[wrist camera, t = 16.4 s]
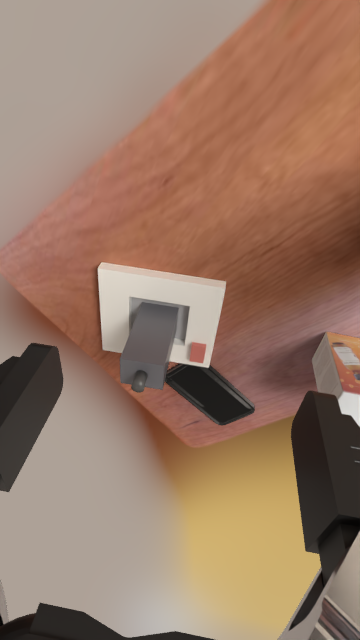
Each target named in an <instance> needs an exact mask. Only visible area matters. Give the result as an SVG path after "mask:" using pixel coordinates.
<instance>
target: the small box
mask: <svg viewBox="0 0 360 640" xmlns="http://www.w3.org/2000/svg"><path fill="white" fill-rule="evenodd" d="M312 365H313V370H314V374H315V379H316V384H317V389H318V392H321V393H327V394H333V395H335V396H336V397H337V399H338V402H339V406H340V410H341V413H342V414H346V415H351V416H352V417H353V419H354V420H355V421H356V423H357V424H358V426H359V427H360V338H356V337H351V336H346V335H341V334H336V333H332V332H326V333H325V335H324V337H323V339H322V341H321V343H320V344H319V346H318V348H317V350H316V352H315V354H314V356H313V358H312Z"/></svg>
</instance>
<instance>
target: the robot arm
mask: <svg viewBox="0 0 360 640" xmlns="http://www.w3.org/2000/svg"><path fill="white" fill-rule="evenodd" d="M62 387H63V374H62V368H61V362H60V357H59V351H58V348H57V347H55V346H50V345H44V344H37V343H31V344H30V345H29V346H28V347H27V349H26V350H25V351H24V353H23V354H22V355H21V357H15V356H12V357H11V358H9V359H8V360H6V361H5V362H3V363H2V364H0V490H1V491H6V492H9V491H10V489H11V487H12V485H13V483H14V481H15V479H16V478H17V476H18V474H19V472H20V470H21V468H22V466H23V464H24V462H25V460H26V459H27V457H28V455H29V453H30V451H31V449H32V447H33V445H34V444H35V442H36V440H37V438H38V436H39V434H40V432H41V430H42V428H43V427H44V424H45V423H46V421H47V419H48V417H49V415H50V413H51V411H52V410H53V408H54V406H55V404H56V402H57V400H58V398H59V396H60V394H61V391H62ZM291 440H292V448H293V456H294V464H295V471H296V479H297V487H298V495H299V503H300V511H301V518H302V526H303V534H304V542H305V550H306V551H307V552H312V553H317V554H319V555H320V561H321V568H320V569H319V571H318V573H317V574H316V576H315V578H314V580H313V581H312V583H311V585H310V587H309V588H308V590H307V592H306V593H305V595H304V597H303V598H302V600H301V602H300V604H299V605H298V607H297V609H296V611H295V612H294V614H293V616H292V618H291V619H290V621H289V623H288V625H287V626H286V628H285V629H284V631H283V633H282V634H281V636H280V637H279V638H278V639H277V640H360V427H359V426H358V424H357V423H356V421H355V420H354V419H353V417H352V416H351V415H346V414H342V413H341V410H340V406H339V402H338V399H337V397H336V396H335V395H333V394H327V393H321V392H315V391H308V392H307V394H306V395H305V398H304V400H303V402H302V404H301V406H300V408H299V410H298V412H297V414H296V416H295V418H294V420H293V423H292V429H291ZM0 640H214V639H210V638H205V637H200V636H195V635H191V634H186V633H181V632H176V631H175V632H167V633H160V634H153V635H146V636H139V637H132V638H127V637H123V636H121V635H120V634H118V633H116V632H115V631H113V630H112V629H110V628H108V627H107V626H105V625H104V624H102V623H100V622H99V621H97V620H95V619H94V618H92V617H91V616H89V615H88V614H86V613H84V612H81V611H76V610H72V609H67V608H62V607H58V606H53V605H48V604H43V603H40V604H39V606H38V609H37V612H36V613H34V614H29V615H26V616H22V617H19V618H16V619H14V620H12V621H10V622H9V619H8V612H7V605H6V600H5V595H4V590H3V587H2V583H1V581H0Z"/></svg>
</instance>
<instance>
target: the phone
mask: <svg viewBox="0 0 360 640" xmlns="http://www.w3.org/2000/svg"><path fill="white" fill-rule="evenodd" d="M165 382H166V383H167V384H168V385H170V386H171V387H172V388H173V389H175V390H176V391H177V392H178V393H179V394H181V395H182V396H183V397H184V398H186V399H187V400H188V401H189V402H191V403H192V404H193V405H194V406H195V407H197V408H198V409H199V410H200V411H202V412H203V413H204V414H205V415H207V416H208V417H209V418H210V419H211V420H213V421H214V422H215V423H216V424H218V425H226V424H229V423H231V422H234V421H236V420H238V419H241V418H243V417H246V416H248V415H250V414H252V413H254V411H255V406H254V404H253V403H252V402H251V401H250V400H248V399H247V398H246V397H245V396H244V395H243V394H242V393H241V392H239V391H238V390H237V389H236V388H235V387H234V386H233V385H232V384H230V383H229V382H228V381H227V380H226V379H225V378H224V377H223V376H222V375H220V374H219V373H218V372H217V371H216V370H215V369H214V368H213V367H211V366H210V365H209V368H206V367H200V366H195V365H189V364H183V363H180V364H178V365H176V366H175V367H173V368H171V369H170V370H168V371H167V372H166V377H165Z"/></svg>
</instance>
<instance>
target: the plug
mask: <svg viewBox="0 0 360 640" xmlns="http://www.w3.org/2000/svg"><path fill="white" fill-rule="evenodd" d="M178 311H179V308H178V307H172V306H165V305H159V304H152V303H146V302H142V304H141V307H140V309H139V312H138V314H137V317H136V319H135V322H134V324H133V327H132V329H131V332H130V334H129V337H128V339H127V342H126V344H125V347H124V349H123V352H122V354H121V357H120V380H121V383H125V384H131V385H132V386H131V388H132V390H133V391H135V392H142V391H143V390H144V387H149V388H155V389H161V390H163V385H164V381H165V377H166V372H167V368H168V364H169V360H170V355H171V351H172V347H173V343H174V338H175V334H176V330H177V320H178Z"/></svg>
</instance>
